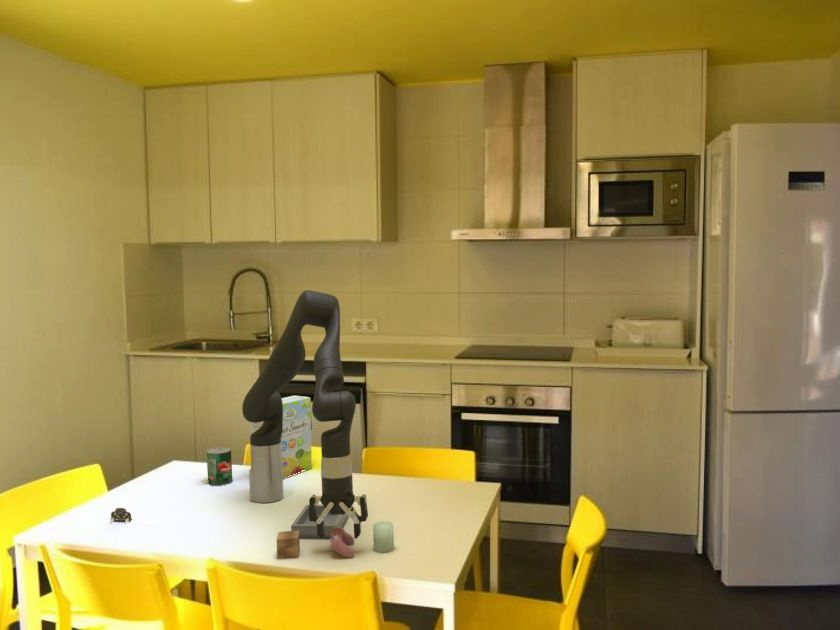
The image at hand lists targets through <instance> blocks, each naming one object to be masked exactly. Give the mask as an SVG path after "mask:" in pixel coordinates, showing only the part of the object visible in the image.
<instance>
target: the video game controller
mask: <svg viewBox="0 0 840 630" xmlns="http://www.w3.org/2000/svg"><path fill="white" fill-rule="evenodd" d="M330 535H331V538H330V539H329V542H330V545H331V547H332V548H333V550H334V552H336V553H337V554H338V555H341V556H343V557H345V558H347V559H352V558H353V557H354V556H355V552H354V550H353V548H351V547H350V546H351V545H353V544H354V543H355V539H354V536H352V534H350V533H348V532H346V530H344V528H343V529H342V528H341V527H339V526H338V527H334V528H332V529H331V531H330ZM349 545H350V546H349Z"/></svg>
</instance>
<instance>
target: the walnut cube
mask: <svg viewBox="0 0 840 630" xmlns="http://www.w3.org/2000/svg"><path fill="white" fill-rule="evenodd" d="M276 537H277V538H276V555H277V556H276V557H277V558H276V559H277V560H284V559H285V560H287V559H288V560H289V559H298V558H299V555H300V551H301V546H300V544H301V543H300V542H301V541H300V539H299V531H291V530H289V531H287V530H286V531H284V530H283V531H278V533H277V536H276Z"/></svg>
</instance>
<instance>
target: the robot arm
mask: <svg viewBox="0 0 840 630" xmlns="http://www.w3.org/2000/svg"><path fill="white" fill-rule="evenodd" d="M305 326H312V327H313V326H314V327H318V328H324V330H325V336H324V338H323V339H322V341H321V343H320V345H319V346H318V348H317V349H316V351H315V353H314V355H313V369H314V370H313V371H314V378H315V391H314V394H313V395H314V396H313V400H312V403H311V404H312V405H311V414H312V415H313V417H314V418H315V419H316V420H317V422H321V423H323V422H324V423H325V422H335V421H336V422H337V421H340V422H339V424H338V425H337V426H336V427H334V428H330V429H328V430H325V431H323V432H322V433H321V435H320V445H321V446H320V448H321V449H320V450H321V460H320V475H321V496H319V495H316V494H312V495H311V496H310V498H308V499H309V501H308V505H309V521H311V522H312V521H313V522H316V523H317V535H318V536H320V539H319V540H324V539H323V538H324V535H325V533H324V521H323V519H324V518H325V517H326V515H327V514H328V512H329V513H330V514H331V515H335V514H341V515H344V514H345V513H346V514H347V515H348V516H349V518H350V519H351V520H352V521H353V522H354V523H353V538H354V540H355V539H358V538H359V537H360V535H361V533H362V527H361V526H362V525H361V524H362V523H363V522H366V521H367V520H368V518H369V512H368V502H367V496H366V494H365V493H364V494H361V495H358V496H357V495H355V494H354V490H353V489H354V486H353V483H354V482H353V481H354V480H353V465H352V458H351V456H352V455H351V432H352V431H351V429H352V426H353V425H352V424H353V421H354V417H355V413H356V407H357V402H356V401H357V400H356V398H355V396H354V394H353V393H352V392H350V391H348V390H340V391H337V390H339V389H341V387H343V385H344V382H345V377H344V371H343V365H342V359H341V351H340V349H341V347H340V346H341V345H340V344H341V343H340V342H341V341H340V340H341V307H340V303H339V300H338V298H337V297H336V296H335V295H334V294H329V293H325V292H320V291H315V290H311V289H310V290H309V289H307V290H303V291H302V292H301V293H300V295H299V296H298V297H297V300H296V302H295V305H294V307H293V309H292V312H291V314H290V317H289V319H288V320H287V324H286V327H285V328H284V330H283V332H282V333H281V336H280V338H279V339H278V341H277V343H276V345H275V346H274V348H273V350H272V352H271V354H270V356H269V358H268V360H267V361H266V364H265V365H264V367H263V369H262V371H261V372H260V375H259V376H258V377H257V379H256V381H255V382H254V384H253V385H252V386H251V388H250V389H249V390H248V392H247V393H246V395H245V396H244V398H243V401H242V409H241V411H242V416H243V418H244V419H245V420H246V421H247V422H249V423H250V422H253V423H257V422H263V421H264V422H263V424H262V426H261V427H260V428H259V429H258V430H257V431H255V432H254V433H252V434H251V435H250V436H249V444H250V469H249V471H248V472H249V473H248V474H249V475H248V476H249V477H248V479H249V496H250V501H249V502H254V503H262V504H265V503H266V504H267V503H269V504H270V503H274V502H279V501H280V500H282V499H283V498H284V479H283V474H282V449H281V436H282V431H283V403H282V398H283V397H282V395H281V394H280V392H279V390H281V389H282V388H283V387H285V386H286V385H287V384H289V383H290V382H291V381H292V380H293V379H294V378H295V377H296V376H297V374H298V373H299V371H300V370H301V368H302V367H303V364H304V363H305V360H306V348H305V345H304V344H305V343H304V341H303V338H302V330H303V328H304V327H305ZM355 502H356V503H357V505H358V506H359V508H360V514H359V513H358V512H357V509H356V508H355V507H354V503H355ZM319 503H321V505H323V506H324V507H325V509H324V510H323V512H322V513H321V515H320V516H317V515H316V506H317V505H319Z"/></svg>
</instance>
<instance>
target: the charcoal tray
mask: <svg viewBox="0 0 840 630" xmlns="http://www.w3.org/2000/svg"><path fill="white" fill-rule="evenodd" d="M324 509H325V507H324V506H323V504H318V505H317V506H316V515H317V516H320V515H321V513H322V512H323V510H324ZM349 518H350V517H349V516H348V515H347V514H346V513H345V514H344V515H341V514H335V515H331V514H330V513H329V512H328V514H327V515H326V517H325V518H324V519H323V521H324V533H325V535H324V538H323V539H322V540H330V538H331V535H330V531H331V529H332V528H334V527H338V526H339V527H341V528H342V529H343V530H344V527H345V525H346V523H347V521H348V520H349ZM290 529H291V530H290V531H299V539H301V540H304V539H306V540H321V539H320V536H318V535H317V523H316V522H313V521H312V522H311V521H309V504H306V505H305V506H304V507H303V509H302V510H301V512H300V513H299V514H298V515H297V516H296V518H295V520H294V521H293V522H292V523H291V525H290Z"/></svg>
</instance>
